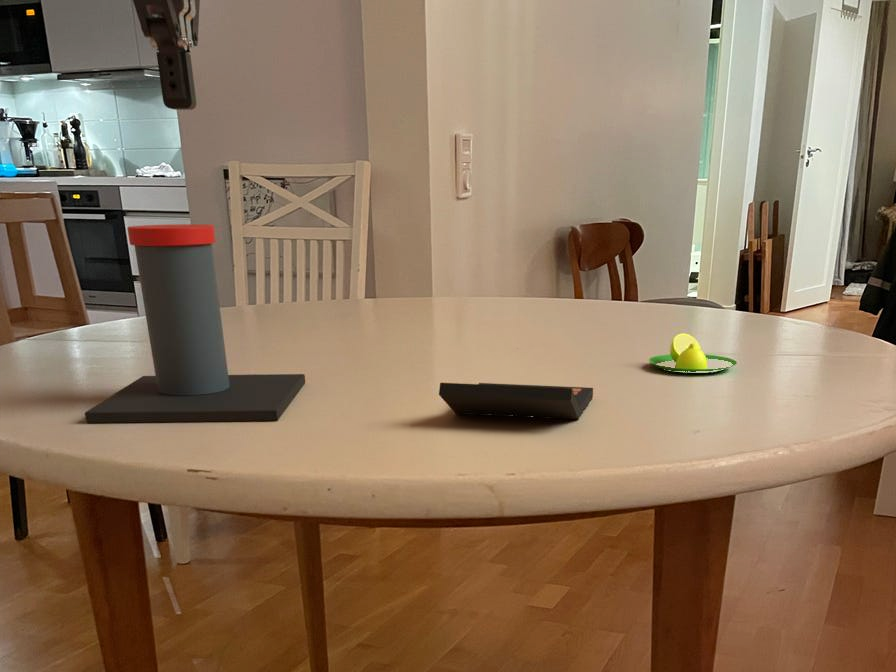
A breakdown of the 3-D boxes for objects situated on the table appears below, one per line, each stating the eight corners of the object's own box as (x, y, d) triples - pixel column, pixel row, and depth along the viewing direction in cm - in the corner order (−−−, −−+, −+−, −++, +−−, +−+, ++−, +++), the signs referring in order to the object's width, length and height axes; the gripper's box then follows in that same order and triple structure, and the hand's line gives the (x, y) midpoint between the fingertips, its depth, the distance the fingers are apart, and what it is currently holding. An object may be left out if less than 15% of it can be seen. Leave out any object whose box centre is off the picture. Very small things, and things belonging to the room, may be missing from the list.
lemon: (631, 364, 87) (633, 333, 86) (701, 358, 90) (704, 327, 88) (681, 379, 80) (684, 345, 79) (754, 371, 83) (758, 339, 82)
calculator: (592, 398, 74) (594, 360, 72) (569, 433, 63) (571, 389, 62) (479, 393, 76) (479, 355, 74) (439, 426, 66) (438, 383, 64)
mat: (86, 423, 67) (83, 412, 67) (144, 385, 80) (142, 375, 79) (278, 421, 67) (276, 410, 67) (305, 383, 80) (304, 373, 80)
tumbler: (144, 397, 71) (115, 228, 66) (166, 381, 77) (141, 224, 71) (224, 396, 71) (202, 227, 66) (240, 380, 77) (221, 224, 72)
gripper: (120, -147, 70) (157, 114, 78) (51, -214, 58) (103, 103, 66) (218, -148, 70) (246, 114, 78) (170, -214, 58) (208, 102, 66)
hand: (180, 108), depth 72 cm, fingers closed
